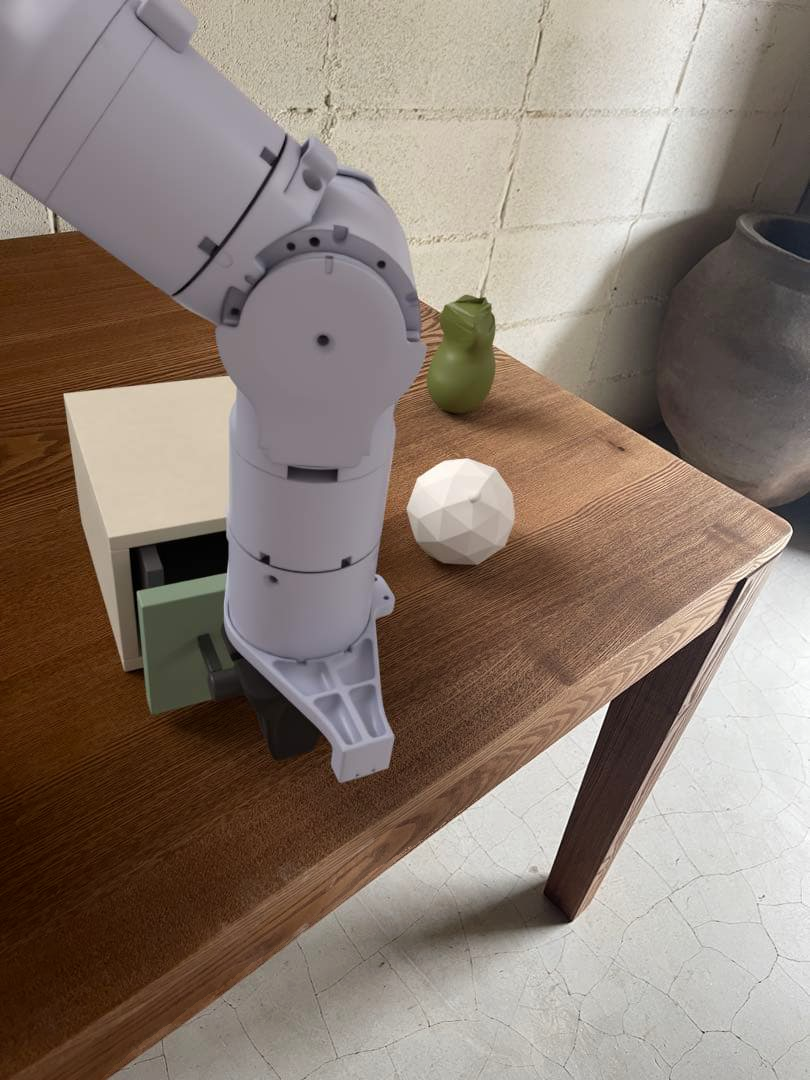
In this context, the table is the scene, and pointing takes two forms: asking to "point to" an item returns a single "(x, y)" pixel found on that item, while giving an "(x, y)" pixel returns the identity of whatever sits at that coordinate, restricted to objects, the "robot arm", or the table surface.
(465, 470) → the ornament
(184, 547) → the drawer
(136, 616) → the storage box
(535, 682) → the table surface
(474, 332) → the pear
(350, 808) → the table surface
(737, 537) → the table surface
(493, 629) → the table surface
